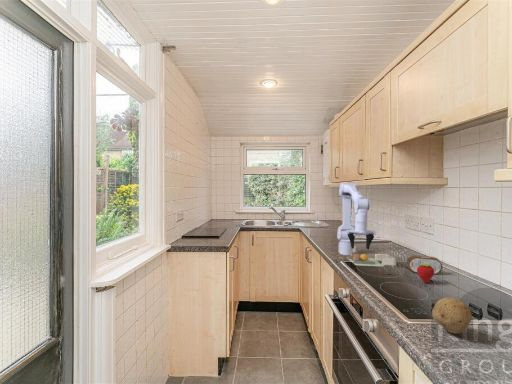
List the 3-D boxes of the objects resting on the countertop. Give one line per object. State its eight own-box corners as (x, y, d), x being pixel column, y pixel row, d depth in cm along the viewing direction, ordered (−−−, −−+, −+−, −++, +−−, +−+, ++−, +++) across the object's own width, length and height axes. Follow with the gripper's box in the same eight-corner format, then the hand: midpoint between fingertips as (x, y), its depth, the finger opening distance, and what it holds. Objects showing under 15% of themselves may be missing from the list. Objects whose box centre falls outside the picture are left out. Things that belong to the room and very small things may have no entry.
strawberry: (412, 281, 123) (413, 259, 123) (425, 280, 125) (426, 258, 125) (424, 286, 117) (425, 262, 117) (437, 284, 119) (438, 261, 119)
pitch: (346, 259, 158) (346, 251, 158) (385, 260, 157) (385, 253, 157) (355, 267, 142) (355, 258, 142) (398, 269, 141) (399, 260, 141)
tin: (440, 274, 135) (441, 257, 135) (442, 276, 132) (443, 258, 132) (406, 270, 139) (407, 254, 139) (408, 272, 136) (408, 255, 136)
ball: (358, 260, 152) (359, 253, 152) (366, 260, 152) (366, 253, 151) (361, 262, 148) (361, 254, 148) (368, 262, 148) (369, 255, 147)
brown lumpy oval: (438, 338, 75) (440, 302, 75) (426, 322, 84) (428, 290, 84) (477, 343, 73) (478, 306, 73) (460, 327, 82) (461, 294, 82)
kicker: (350, 258, 154) (350, 244, 154) (354, 258, 154) (354, 244, 154) (354, 262, 146) (355, 247, 146) (359, 262, 146) (359, 247, 146)
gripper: (349, 222, 138) (348, 249, 138) (378, 223, 137) (377, 250, 137) (345, 220, 145) (344, 246, 145) (373, 221, 144) (372, 247, 144)
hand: (360, 248), depth 142 cm, fingers open, 7 cm apart
